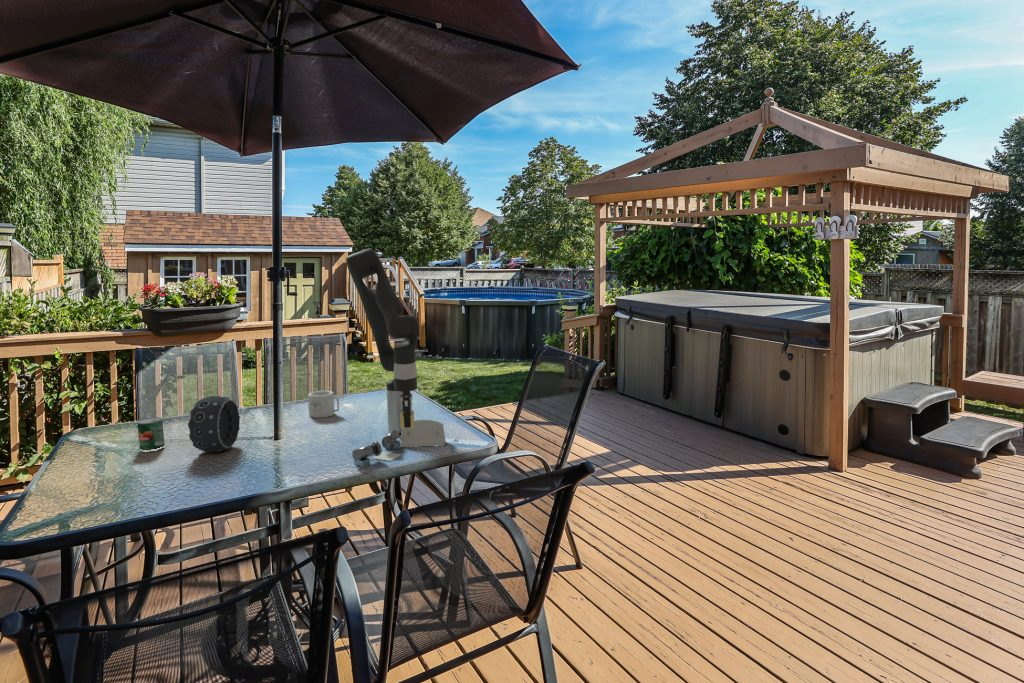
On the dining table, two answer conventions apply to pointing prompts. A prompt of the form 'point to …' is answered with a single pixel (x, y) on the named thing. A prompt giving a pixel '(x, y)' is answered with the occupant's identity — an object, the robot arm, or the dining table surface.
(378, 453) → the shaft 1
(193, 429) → the dark grey drum piece
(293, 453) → the dining table surface
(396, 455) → the plate
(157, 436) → the canned tomato
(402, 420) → the block
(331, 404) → the mug
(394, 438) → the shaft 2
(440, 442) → the grey rounded block
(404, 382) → the robot arm
